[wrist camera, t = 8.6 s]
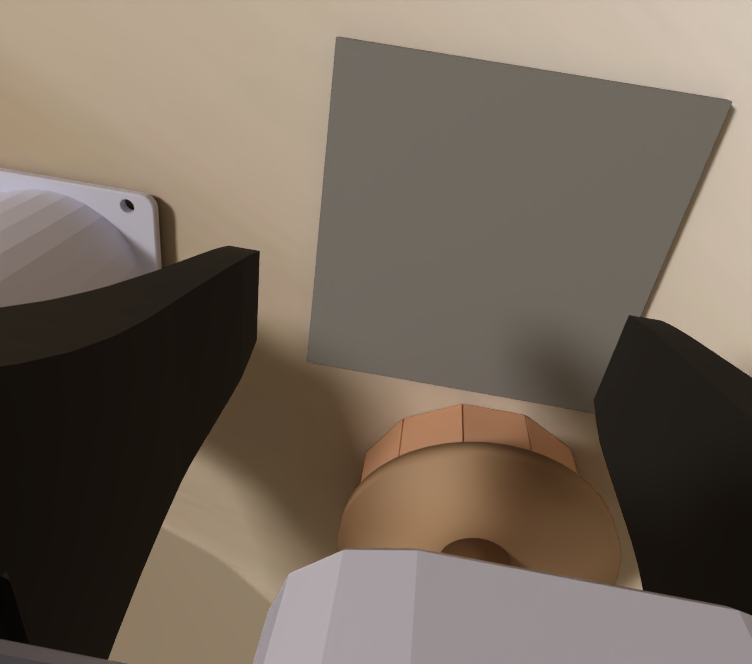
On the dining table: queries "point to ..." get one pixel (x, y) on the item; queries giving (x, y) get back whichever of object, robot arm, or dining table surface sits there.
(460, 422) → the bowl
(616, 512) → the dining table surface
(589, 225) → the mat
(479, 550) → the lid
